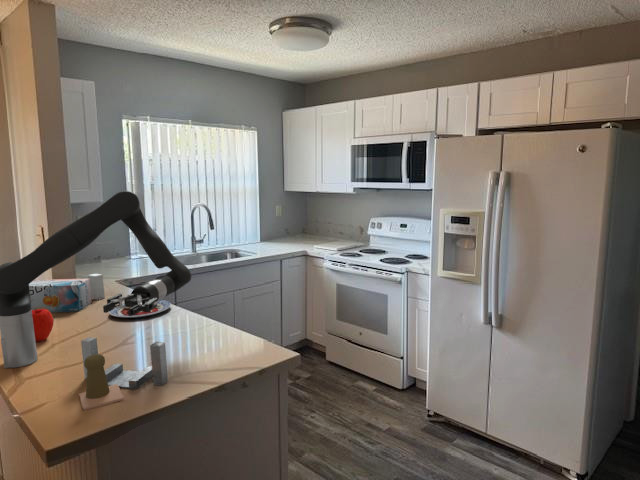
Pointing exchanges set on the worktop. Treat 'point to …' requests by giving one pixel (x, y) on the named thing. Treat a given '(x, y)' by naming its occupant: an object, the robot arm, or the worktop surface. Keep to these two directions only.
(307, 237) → the worktop surface
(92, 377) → the cork
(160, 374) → the grey u-shaped stand
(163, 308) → the ceramic plate
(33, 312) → the apple
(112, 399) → the tile
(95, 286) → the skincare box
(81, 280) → the soda box
